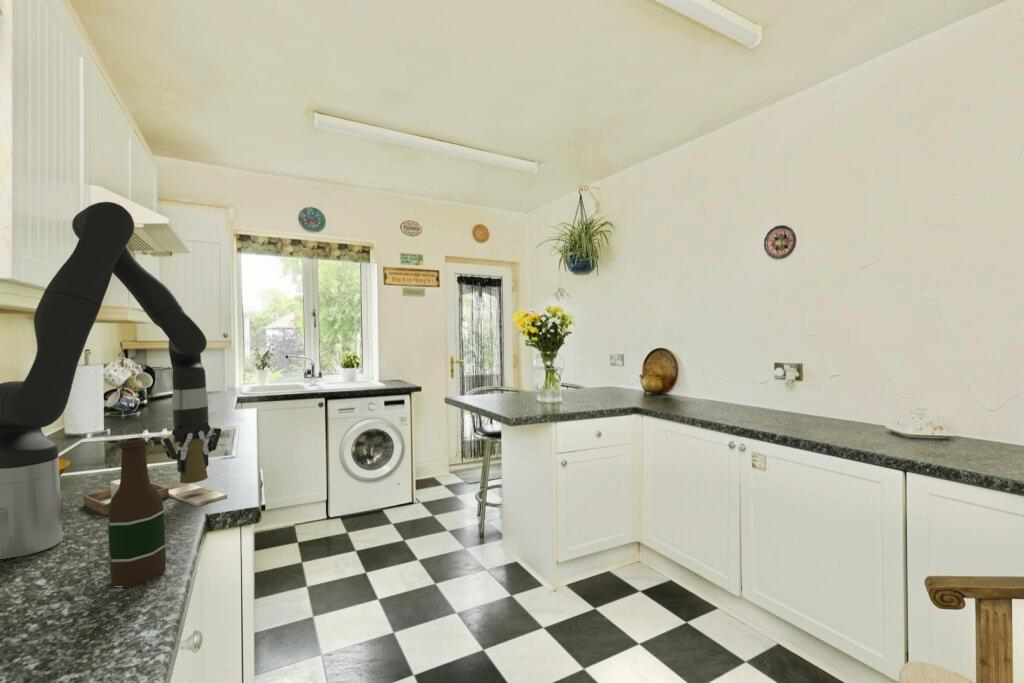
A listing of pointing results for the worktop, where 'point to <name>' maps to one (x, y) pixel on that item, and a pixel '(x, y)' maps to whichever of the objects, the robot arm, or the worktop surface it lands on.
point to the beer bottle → (135, 521)
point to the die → (114, 487)
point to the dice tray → (103, 499)
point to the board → (193, 493)
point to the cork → (194, 462)
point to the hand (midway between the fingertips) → (193, 470)
